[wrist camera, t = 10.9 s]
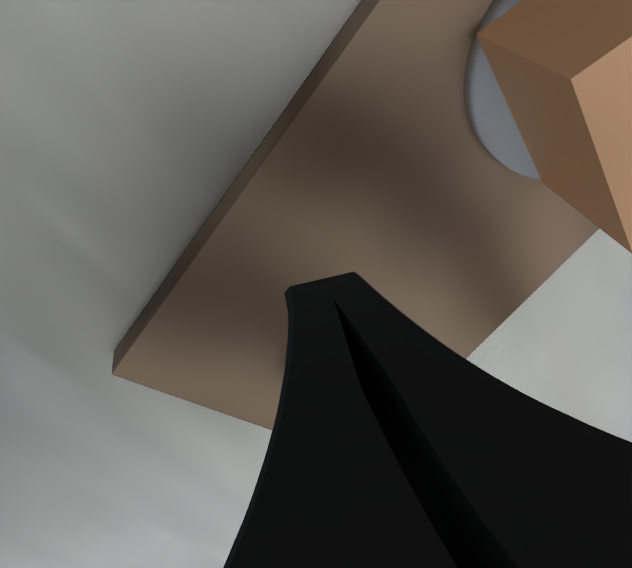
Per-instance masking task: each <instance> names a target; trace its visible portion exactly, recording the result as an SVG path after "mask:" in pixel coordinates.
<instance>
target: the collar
mask: <svg viewBox="0 0 632 568" xmlns="http://www.w3.org/2000/svg"><path fill="white" fill-rule="evenodd" d="M476 35H477V38H478V40H479V42H480V44H481V46H482V49H483V51H484V53H485V55H486V58H487V60H488V62H489V64H490V67H491V69H492V71H493V73H494V76H495V78H496V80H497V82H498V84H499V87H500V89H501V91H502V93H503V96H504V98H505V100H506V102H507V105H508V107H509V109H510V111H511V114H512V116H513V118H514V120H515V122H516V125H517V127H518V129H519V131H520V134H521V136H522V138H523V140H524V143H525V145H526V147H527V149H528V152H529V154H530V156H531V158H532V160H533V163H534V165H535V167H536V169H537V172H538V174H539V176H540V178H541V181H542V183H543V184H544V185H545V186H546V187H548V188H549V189H550V190H552V191H553V192H554V193H555V194H557V195H558V196H559V197H561V198H562V199H563V200H564V201H566V202H567V203H568V204H569V205H571V206H572V207H573V208H575V209H576V210H577V211H578V212H580V213H581V214H582V215H584V216H585V217H586V218H587V219H589V220H590V221H591V222H592V223H594V224H595V225H596V226H598V227H599V228H600V229H601V230H603V231H604V232H605V233H607V234H608V235H609V236H610V237H612V238H613V239H614V240H615V241H617V242H618V243H619V244H621V245H622V246H623V247H624V248H626V249H627V250H628V251H629V252H631V253H632V0H522V1H521V2H519V3H518V4H516V5H515V6H514V7H512V8H511V9H510V10H508V11H507V12H506V13H504V14H503V15H502V16H500V17H499V18H498V19H496V20H495V21H494V22H492V23H491V24H490V25H488V26H487V27H486V28H484V29H483V30H481V31H480V32H479V33H477V34H476Z"/></svg>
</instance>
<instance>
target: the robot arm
mask: <svg viewBox="0 0 632 568" xmlns="http://www.w3.org/2000/svg"><path fill="white" fill-rule="evenodd" d="M284 295H285V300H286V305H287V310H288V341H287V352H286V362H285V370H284V376H283V382H282V388H281V393H280V399H279V404H278V409H277V414H276V418H275V422H274V426H273V430H272V434H271V438H270V441H269V445H268V449H267V452H266V456H265V459H264V462H263V465H262V468H261V471H260V474H259V477H258V481H257V484H256V487H255V490H254V493H253V496H252V498H251V501H250V504H249V507H248V509H247V512H246V515H245V517H244V520H243V522H242V525H241V527H240V529H239V532H238V534H237V537H236V539H235V541H234V544H233V546H232V548H231V551H230V553H229V556H228V558H227V560H226V563H225V565H224V568H632V442H629V441H627V440H624V439H622V438H619V437H616V436H614V435H612V434H609V433H607V432H605V431H602V430H600V429H597V428H595V427H593V426H590V425H588V424H586V423H584V422H582V421H580V420H577V419H575V418H573V417H571V416H569V415H567V414H565V413H562V412H560V411H558V410H556V409H554V408H552V407H549V406H547V405H545V404H543V403H541V402H539V401H537V400H535V399H533V398H531V397H529V396H527V395H525V394H524V393H522V392H520V391H518V390H516V389H514V388H513V387H511V386H509V385H507V384H506V383H504V382H502V381H500V380H499V379H497V378H495V377H493V376H492V375H490V374H488V373H487V372H485V371H484V370H482V369H480V368H479V367H477V366H476V365H474V364H472V363H471V362H469V361H468V360H466V359H465V358H463V357H462V356H460V355H459V354H457V353H456V352H454V351H453V350H452V349H450V348H449V347H447V346H446V345H444V344H443V343H442V342H440V341H439V340H437V339H436V338H435V337H433V336H432V335H431V334H429V333H428V332H427V331H425V330H424V329H423V328H421V327H420V326H419V325H417V324H416V323H415V322H414V321H412V320H411V319H410V318H408V317H407V316H406V315H405V314H403V313H402V312H401V311H400V310H398V309H397V308H396V307H395V306H394V305H393V304H391V303H390V302H389V301H388V300H387V299H385V298H384V297H383V296H382V295H381V294H380V293H379V292H377V291H376V290H375V289H374V288H373V287H372V286H371V285H370V284H369V283H367V282H366V281H365V280H364V279H363V278H362V277H361V276H360V275H358V274H357V273H355V272H349V273H345V274H341V275H336V276H332V277H328V278H324V279H319V280H315V281H311V282H307V283H302V284H298V285H294V286H290V287H289V288H288V289H287V290H286V291H285V293H284Z"/></svg>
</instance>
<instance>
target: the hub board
mask: <svg viewBox="0 0 632 568" xmlns="http://www.w3.org/2000/svg"><path fill="white" fill-rule="evenodd" d="M521 1H522V0H362V1H361V2H360V4H359V5H358V7H357V8H356V9H355V11H354V12H353V14H352V15H351V16H350V18H349V19H348V21H347V22H346V24H345V25H344V26H343V28H342V29H341V31H340V32H339V33H338V35H337V36H336V38H335V39H334V41H333V42H332V43H331V45H330V46H329V48H328V49H327V50H326V52H325V53H324V55H323V56H322V58H321V59H320V60H319V62H318V63H317V65H316V66H315V68H314V69H313V70H312V72H311V73H310V75H309V76H308V77H307V79H306V80H305V82H304V83H303V85H302V86H301V87H300V89H299V90H298V92H297V93H296V94H295V96H294V97H293V99H292V100H291V102H290V103H289V104H288V106H287V107H286V109H285V110H284V111H283V113H282V114H281V116H280V117H279V119H278V120H277V121H276V123H275V124H274V126H273V127H272V129H271V130H270V131H269V133H268V134H267V136H266V137H265V138H264V140H263V141H262V143H261V144H260V146H259V147H258V148H257V150H256V151H255V153H254V154H253V155H252V157H251V158H250V160H249V161H248V163H247V164H246V165H245V167H244V168H243V170H242V171H241V173H240V174H239V175H238V177H237V178H236V180H235V181H234V182H233V184H232V185H231V187H230V188H229V190H228V191H227V192H226V194H225V195H224V197H223V198H222V199H221V201H220V202H219V204H218V205H217V207H216V208H215V209H214V211H213V212H212V214H211V215H210V216H209V218H208V219H207V221H206V222H205V224H204V225H203V226H202V228H201V229H200V231H199V232H198V234H197V235H196V236H195V238H194V239H193V241H192V242H191V243H190V245H189V246H188V248H187V249H186V251H185V252H184V253H183V255H182V256H181V258H180V259H179V260H178V262H177V263H176V265H175V266H174V268H173V269H172V270H171V272H170V273H169V275H168V276H167V278H166V279H165V280H164V282H163V283H162V285H161V286H160V287H159V289H158V290H157V292H156V293H155V295H154V296H153V297H152V299H151V300H150V302H149V303H148V304H147V306H146V307H145V309H144V310H143V312H142V313H141V314H140V316H139V317H138V319H137V320H136V321H135V323H134V324H133V326H132V327H131V329H130V330H129V331H128V333H127V334H126V336H125V337H124V339H123V340H122V341H121V343H120V344H119V346H118V347H117V348H116V350H115V351H114V357H113V366H112V375H115V376H118V377H121V378H124V379H126V380H129V381H132V382H135V383H138V384H141V385H144V386H147V387H149V388H152V389H155V390H158V391H161V392H164V393H167V394H170V395H172V396H175V397H178V398H181V399H184V400H187V401H190V402H193V403H195V404H198V405H201V406H204V407H207V408H210V409H213V410H216V411H218V412H221V413H224V414H227V415H230V416H233V417H236V418H239V419H241V420H244V421H247V422H250V423H253V424H256V425H259V426H262V427H264V428H267V429H270V430H273V426H274V422H275V418H276V414H277V409H278V404H279V399H280V393H281V388H282V382H283V376H284V370H285V362H286V352H287V341H288V310H287V305H286V300H285V295H284V293H285V291H286V290H287V289H288V288H289V287H290V286H294V285H298V284H302V283H307V282H311V281H315V280H319V279H324V278H328V277H332V276H336V275H341V274H345V273H349V272H355V273H357V274H358V275H360V276H361V277H362V278H363V279H364V280H365V281H366V282H367V283H369V284H370V285H371V286H372V287H373V288H374V289H375V290H376V291H377V292H379V293H380V294H381V295H382V296H383V297H384V298H385V299H387V300H388V301H389V302H390V303H391V304H393V305H394V306H395V307H396V308H397V309H398V310H400V311H401V312H402V313H403V314H405V315H406V316H407V317H408V318H410V319H411V320H412V321H414V322H415V323H416V324H417V325H419V326H420V327H421V328H423V329H424V330H425V331H427V332H428V333H429V334H431V335H432V336H433V337H435V338H436V339H437V340H439V341H440V342H442V343H443V344H444V345H446V346H447V347H449V348H450V349H452V350H453V351H454V352H456V353H457V354H459V355H460V356H462V357H463V358H465V359H466V358H467V357H468V356H469V355H470V354H471V353H472V352H473V351H474V350H475V349H476V348H477V347H478V346H479V345H480V344H481V343H482V342H483V341H484V340H485V339H486V338H487V337H488V336H489V335H490V334H491V333H492V332H493V331H495V330H496V329H497V328H498V327H499V326H500V325H501V324H502V323H503V322H504V321H505V320H506V319H507V318H508V317H509V316H510V315H511V314H512V313H513V312H514V311H515V310H516V309H517V308H518V307H519V306H520V305H521V304H522V303H523V302H524V301H525V300H526V299H527V298H528V297H529V296H530V295H531V294H532V293H533V292H534V291H535V290H537V289H538V288H539V287H540V286H541V285H542V284H543V283H544V282H545V281H546V280H547V279H548V278H549V277H550V276H551V275H552V274H553V273H554V272H555V271H556V270H557V269H558V268H559V267H560V266H561V265H562V264H563V263H564V262H565V261H566V260H567V259H568V258H569V257H570V256H571V255H572V254H573V253H574V252H575V251H576V250H577V249H579V248H580V247H581V246H582V245H583V244H584V243H585V242H586V241H587V240H588V239H589V238H590V237H591V236H592V235H593V234H594V233H595V232H596V231H597V230H598V229H599V227H598V226H596V225H595V224H594V223H592V222H591V221H590V220H589V219H587V218H586V217H585V216H584V215H582V214H581V213H580V212H578V211H577V210H576V209H575V208H573V207H572V206H571V205H569V204H568V203H567V202H566V201H564V200H563V199H562V198H561V197H559V196H558V195H557V194H555V193H554V192H553V191H552V190H550V189H549V188H548V187H546V186H545V185H544V184H543V183H542V181H541V178H540V176H539V174H538V172H537V169H536V167H535V165H534V163H533V160H532V158H531V156H530V154H529V152H528V149H527V147H526V145H525V143H524V140H523V138H522V136H521V134H520V131H519V129H518V127H517V125H516V122H515V120H514V118H513V116H512V114H511V111H510V109H509V107H508V105H507V102H506V100H505V98H504V96H503V93H502V91H501V89H500V87H499V84H498V82H497V80H496V78H495V76H494V73H493V71H492V69H491V67H490V64H489V62H488V60H487V58H486V55H485V53H484V51H483V49H482V46H481V44H480V42H479V40H478V38H477V35H476V34H477V33H479V32H480V31H481V30H483V29H484V28H486V27H487V26H488V25H490V24H491V23H492V22H494V21H495V20H496V19H498V18H499V17H500V16H502V15H503V14H504V13H506V12H507V11H508V10H510V9H511V8H512V7H514V6H515V5H516V4H518V3H519V2H521Z"/></svg>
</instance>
